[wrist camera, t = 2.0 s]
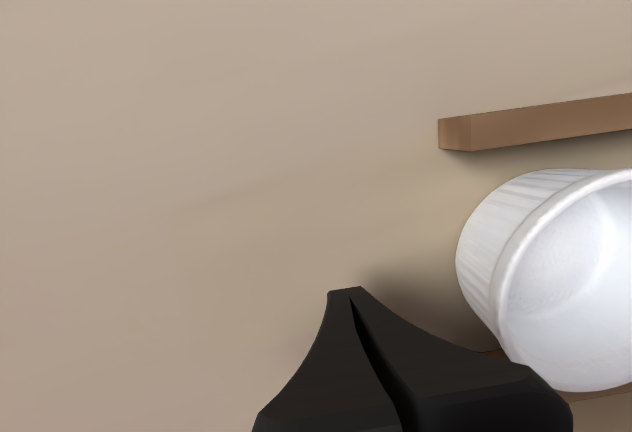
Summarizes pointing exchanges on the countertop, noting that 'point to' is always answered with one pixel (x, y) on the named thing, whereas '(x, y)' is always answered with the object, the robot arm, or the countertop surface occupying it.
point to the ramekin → (556, 274)
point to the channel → (535, 128)
